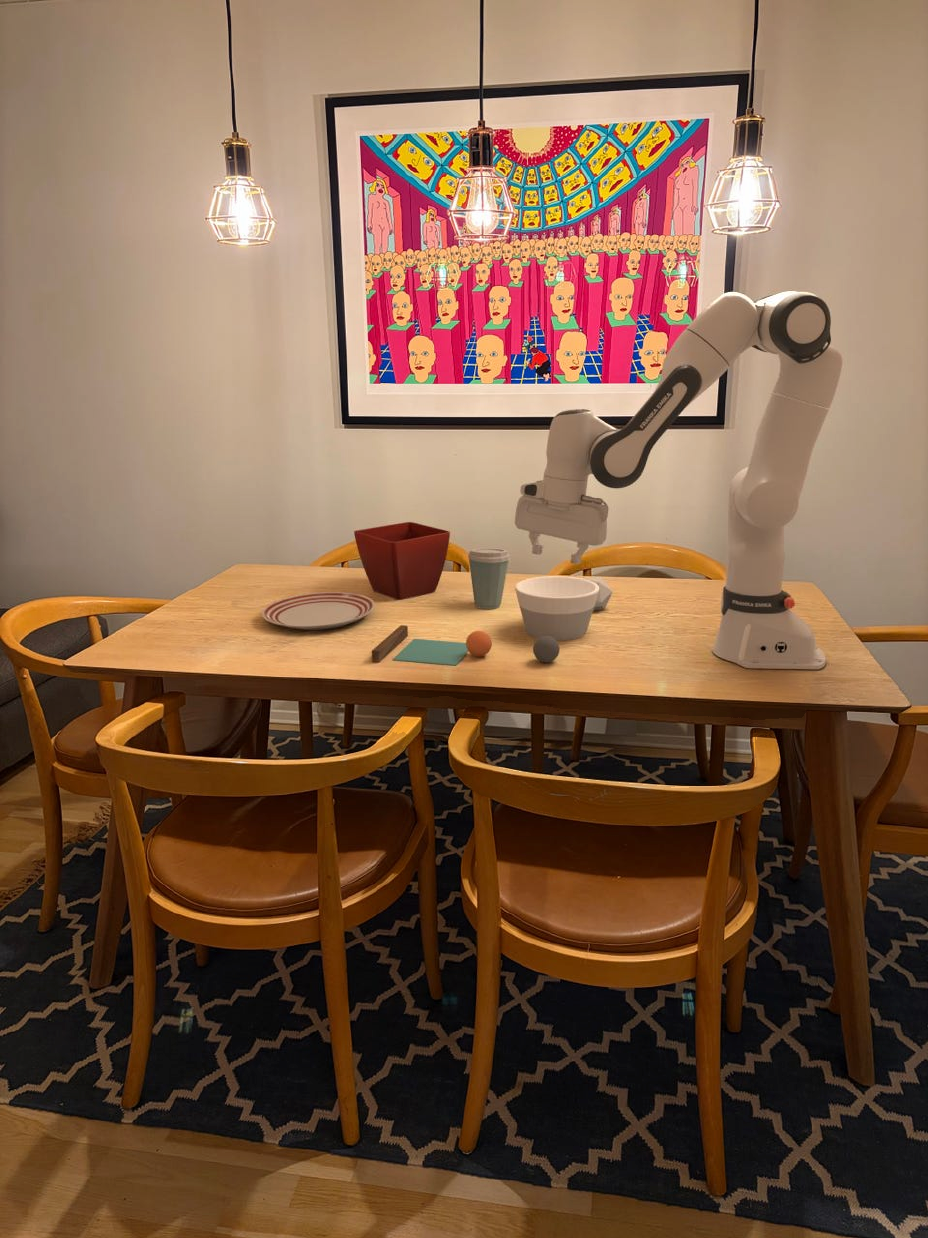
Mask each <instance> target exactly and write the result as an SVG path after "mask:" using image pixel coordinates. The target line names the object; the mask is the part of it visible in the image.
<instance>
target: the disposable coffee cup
mask: <svg viewBox="0 0 928 1238" xmlns="http://www.w3.org/2000/svg"><path fill="white" fill-rule="evenodd" d="M467 558H468V563H469V570H470V577H471V585H472V592H473V593H472V594H473V602H474V604H475V607H476V608H478V609H482V610H493V609H498V608H500V606H501V605H502V599H503V594H504V589H505V582H506V579H507V578H506V576H507V570H508V566H509V561H510V559H511V553H509V550H507V549H505V548H499V547H478V548H472V549H471V550H470V552H469V553H468V556H467Z"/></svg>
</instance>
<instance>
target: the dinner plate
mask: <svg viewBox="0 0 928 1238" xmlns="http://www.w3.org/2000/svg"><path fill="white" fill-rule="evenodd" d="M375 603H376V602H375V601H374V600H373V599H372V598H370V597H368V596H365V595H362V594H359V593H358V594H357V593H353V592H341V591H322V592H311V593H304V594H297V595H293V596H289V597H284V598H282V599H278V600H276V601H274V602H271V603H270V604H268V605H267V606H265V607H264V608H263V609H262V610H261V616H262V618H263V619H264V620H265V621H267V622H268V623H270V624H274V625H278V626H280V627H285V628H289V629H295V630H302V631H303V630H305V631H318V630H326V629H327V630H329V629H336V628H340V627H343V626H346V625H348V624H352V623H354V622H357V621H359V620H361V619H363V618H365V617H367V616H368V615H370V614H371V612H373V611H374V609H375V607H376V604H375Z"/></svg>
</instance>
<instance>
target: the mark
mask: <svg viewBox="0 0 928 1238" xmlns="http://www.w3.org/2000/svg"><path fill="white" fill-rule="evenodd" d="M468 652H469V651H468V650H467V648H466V642H461V641H460V642H459V641H447V640H434V639H423V638H413V639H412V640H411V641H410V642H409V643H408V644H407V645H406V646H405V647H403V649H402V650H401V651H400V652H398V654H397V655H395V656H394V657H393V658H392V661H399V662H411V663H422V664H430V665H431V664H433V665H441V664H442V665H441V666H443V665H444V666H453V665H454V667H455V666H456V665H457V666H458V664H459V663H460V662H461V661H462V660H463V658H465V656H466V654H467V653H468ZM457 666H456V667H457Z"/></svg>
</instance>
